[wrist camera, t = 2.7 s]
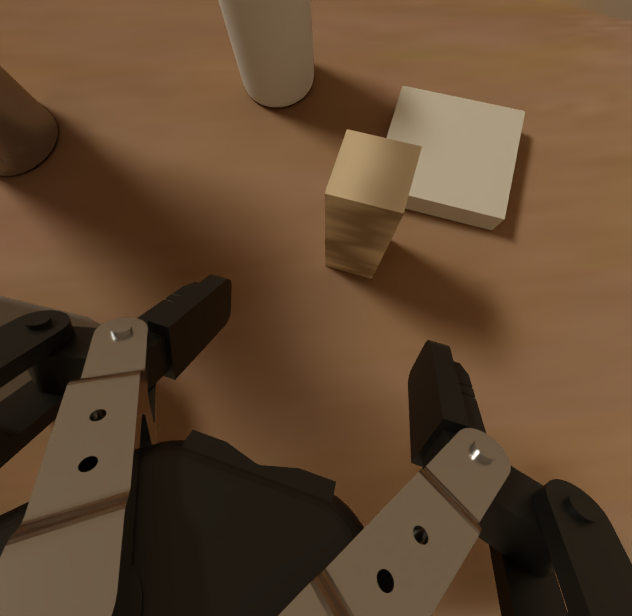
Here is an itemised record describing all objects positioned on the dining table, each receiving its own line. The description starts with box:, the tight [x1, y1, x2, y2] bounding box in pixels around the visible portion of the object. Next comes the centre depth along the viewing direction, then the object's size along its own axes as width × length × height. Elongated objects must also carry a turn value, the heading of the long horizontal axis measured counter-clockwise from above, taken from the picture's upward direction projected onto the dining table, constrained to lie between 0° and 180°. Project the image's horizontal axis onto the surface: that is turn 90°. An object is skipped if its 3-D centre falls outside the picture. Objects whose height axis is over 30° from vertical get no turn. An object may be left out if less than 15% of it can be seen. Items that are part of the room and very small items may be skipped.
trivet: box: [387, 86, 525, 230], centre depth 28 cm, size 12×12×2 cm
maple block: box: [325, 129, 422, 279], centre depth 22 cm, size 4×4×11 cm
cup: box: [0, 296, 100, 402], centre depth 21 cm, size 8×8×10 cm
